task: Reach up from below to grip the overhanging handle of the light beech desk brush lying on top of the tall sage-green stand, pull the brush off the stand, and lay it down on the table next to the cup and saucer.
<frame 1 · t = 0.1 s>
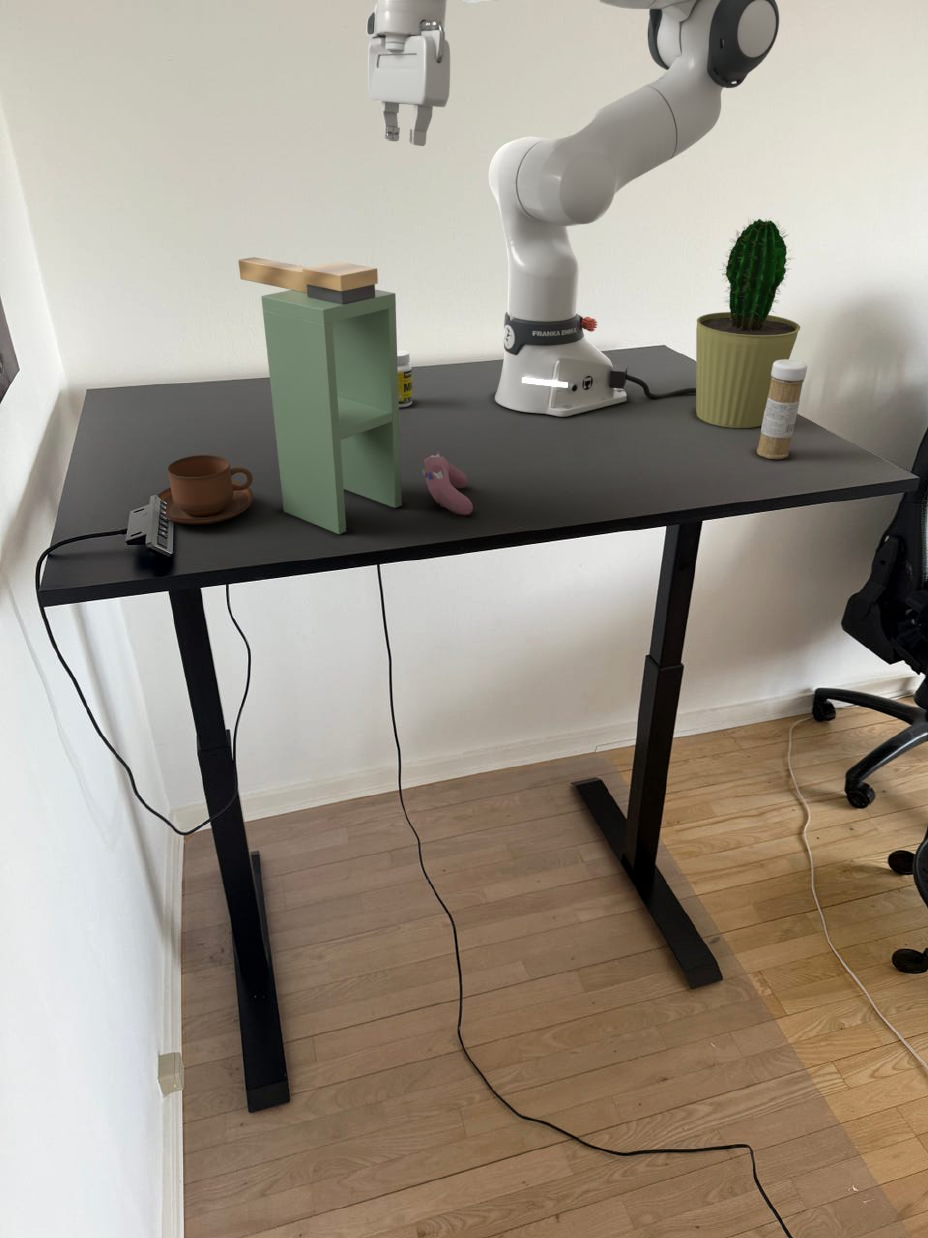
hand: (403, 142, 121), 39 cm above the table, tool pointing down, fingers open, 8 cm apart
cup and saucer: (206, 513, 111), on the table
potted cactus: (731, 417, 144), on the table
supplement bottle: (398, 404, 148), on the table
desk brush: (301, 288, 101), point 26 cm above the table, touching sage stand
sage stand: (343, 508, 113), on the table
video game controller: (447, 503, 115), on the table
sprinkles bottle: (771, 456, 130), on the table
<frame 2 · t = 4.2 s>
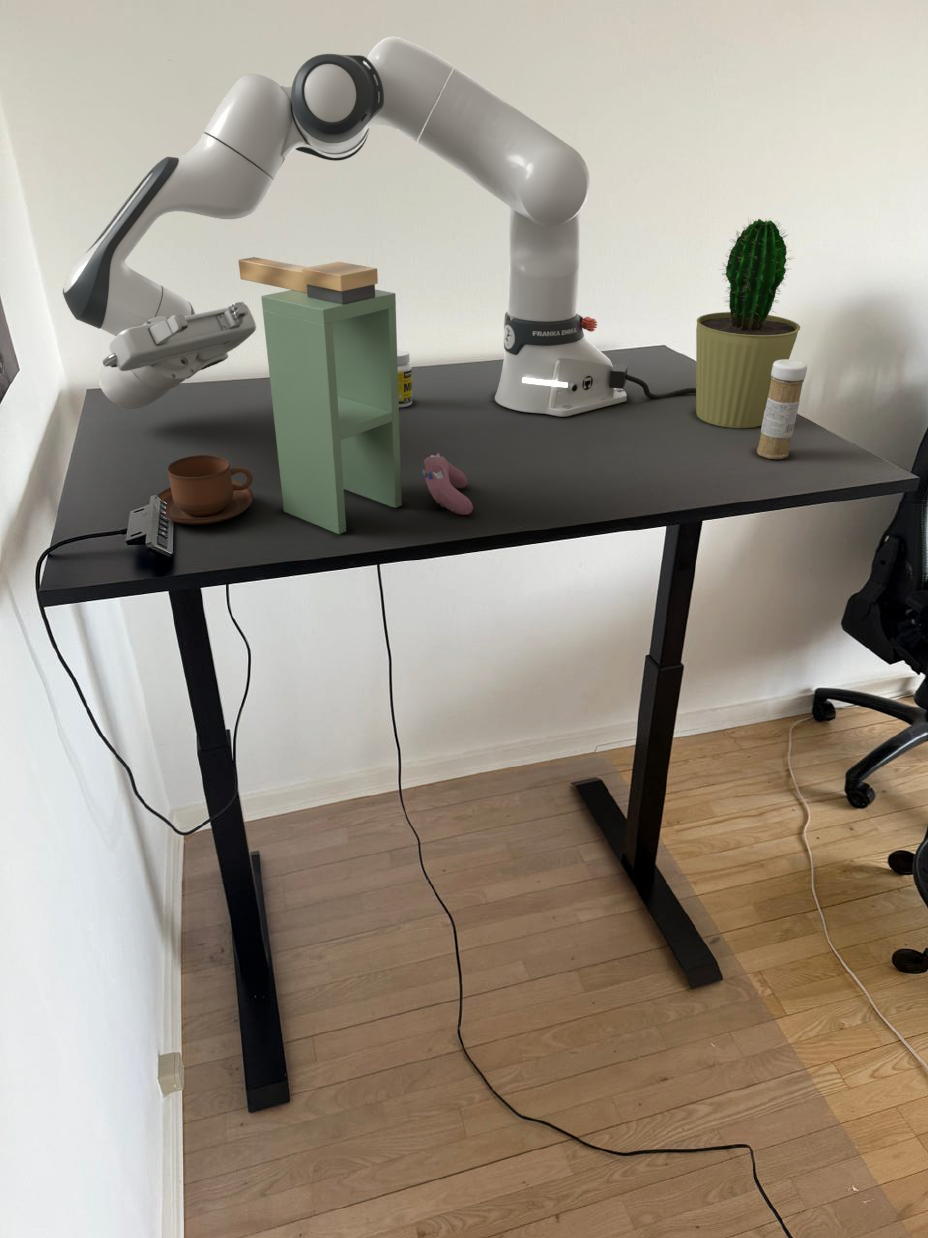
hand: (212, 313, 114), 21 cm above the table, tool pointing upward, fingers open, 8 cm apart
nothing on the table moved.
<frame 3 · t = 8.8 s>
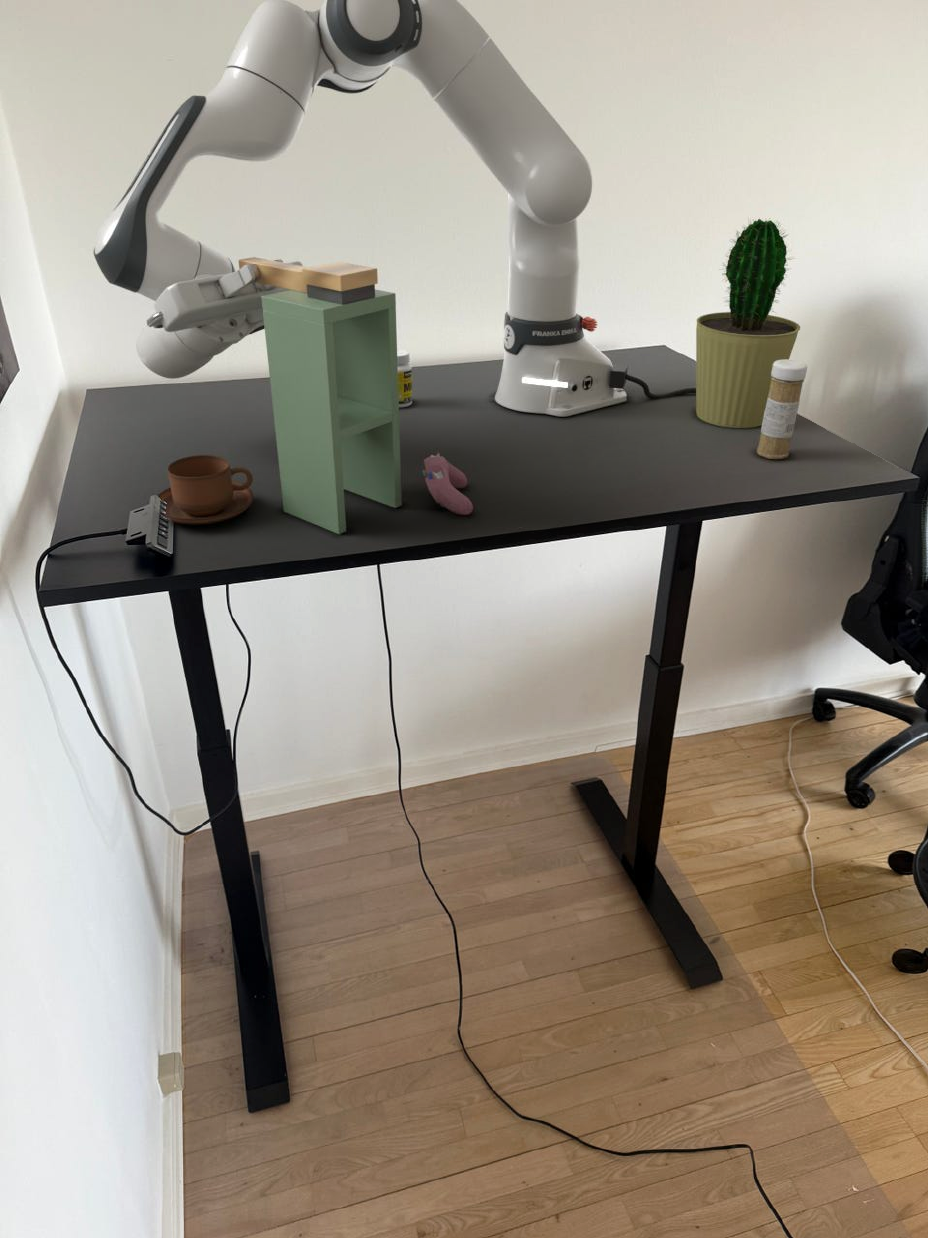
hand: (267, 267, 104), 28 cm above the table, tool pointing upward, fingers closed on desk brush, 2 cm apart
desk brush: (301, 288, 101), point 26 cm above the table, touching gripper, sage stand
everything else where it was.
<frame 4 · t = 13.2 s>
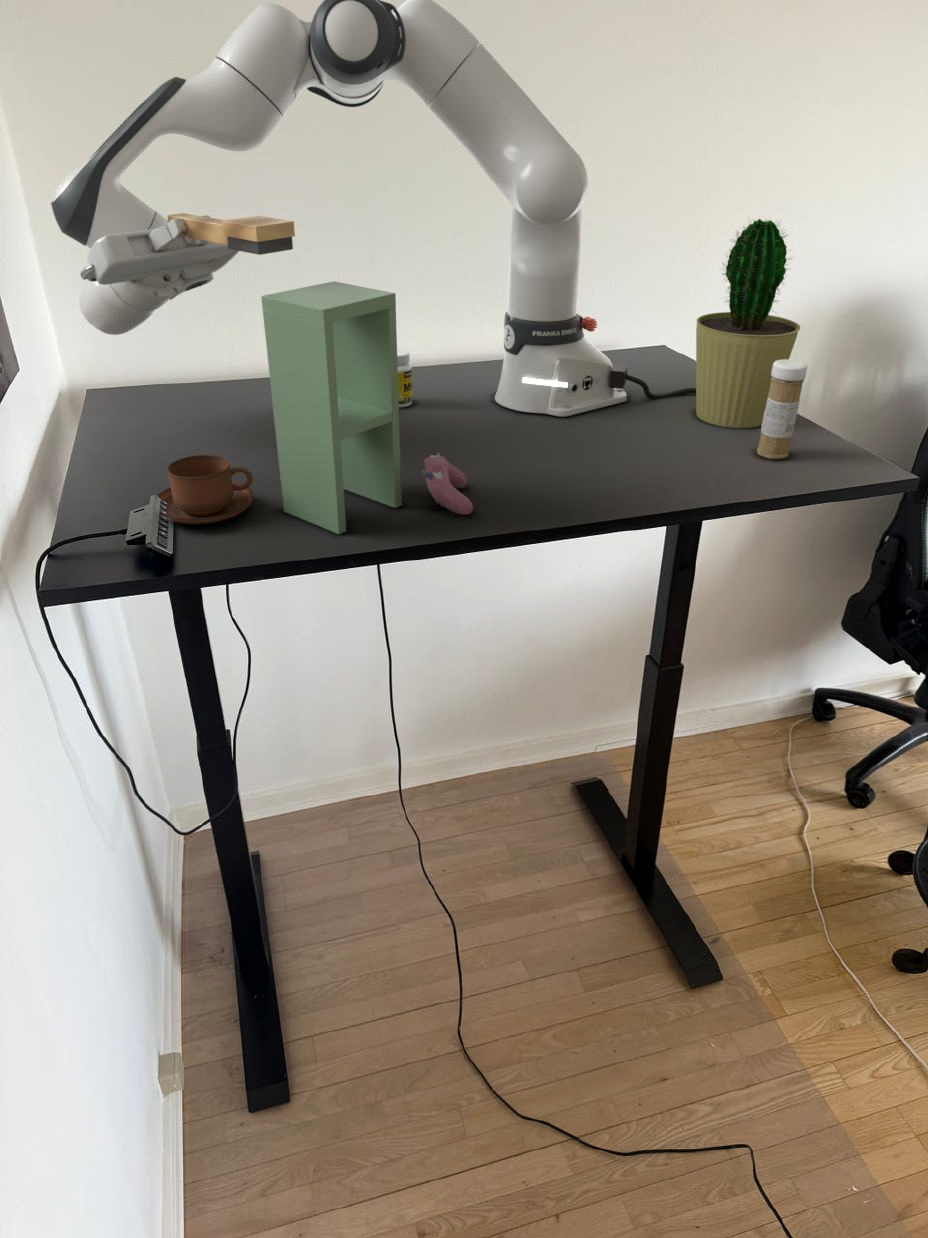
hand: (194, 222, 109), 31 cm above the table, tool pointing upward, fingers closed on desk brush, 2 cm apart
desk brush: (225, 242, 106), point 30 cm above the table, touching gripper
everything else where it was.
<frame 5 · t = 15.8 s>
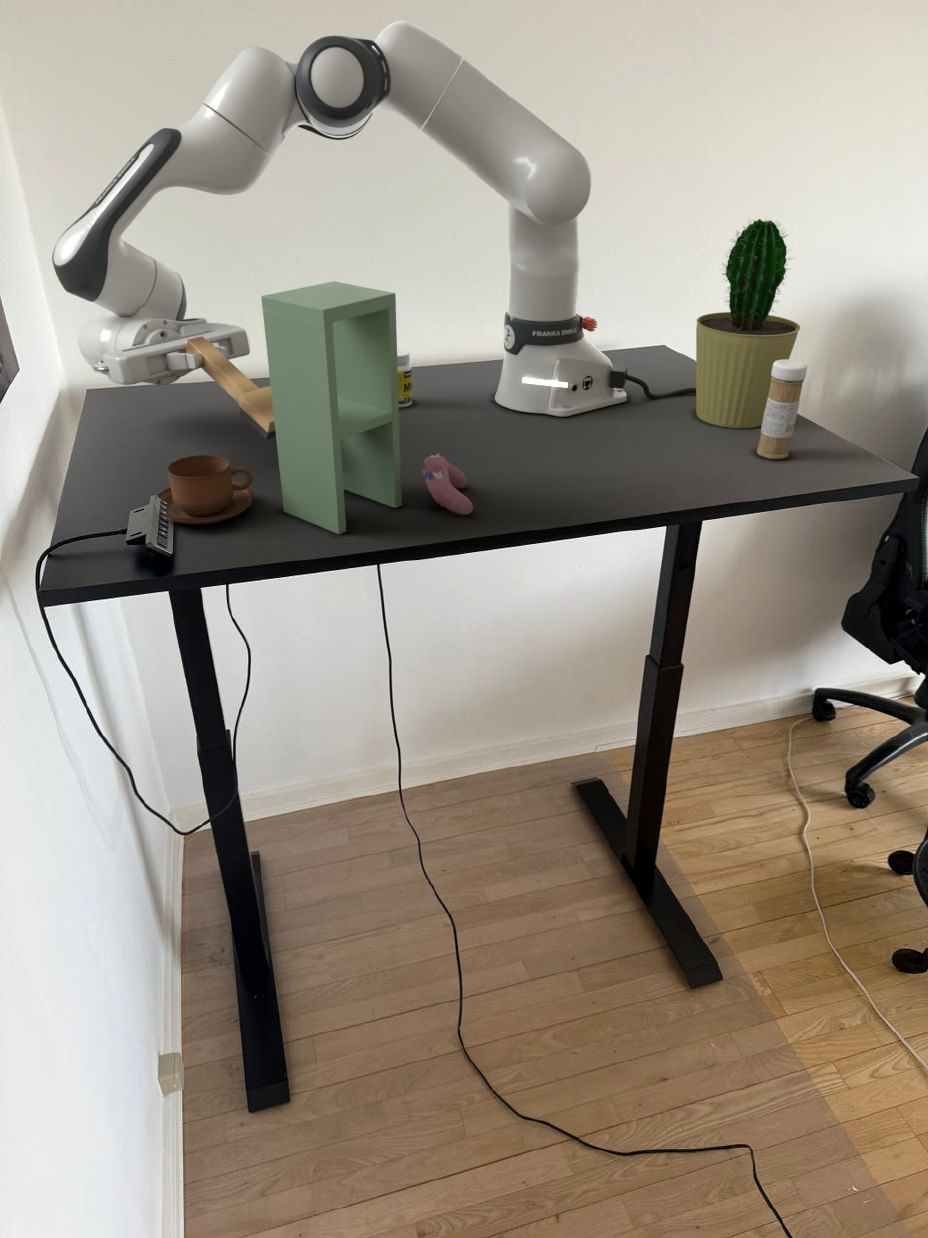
hand: (211, 357, 117), 15 cm above the table, tool horizontal, fingers closed on desk brush, 2 cm apart
desk brush: (237, 392, 116), point 11 cm above the table, tilted 23°, touching gripper
everything else where it was.
when the fingers open (9 cm above the table, at t = 17.7 s): desk brush drops 5 cm, on the table.
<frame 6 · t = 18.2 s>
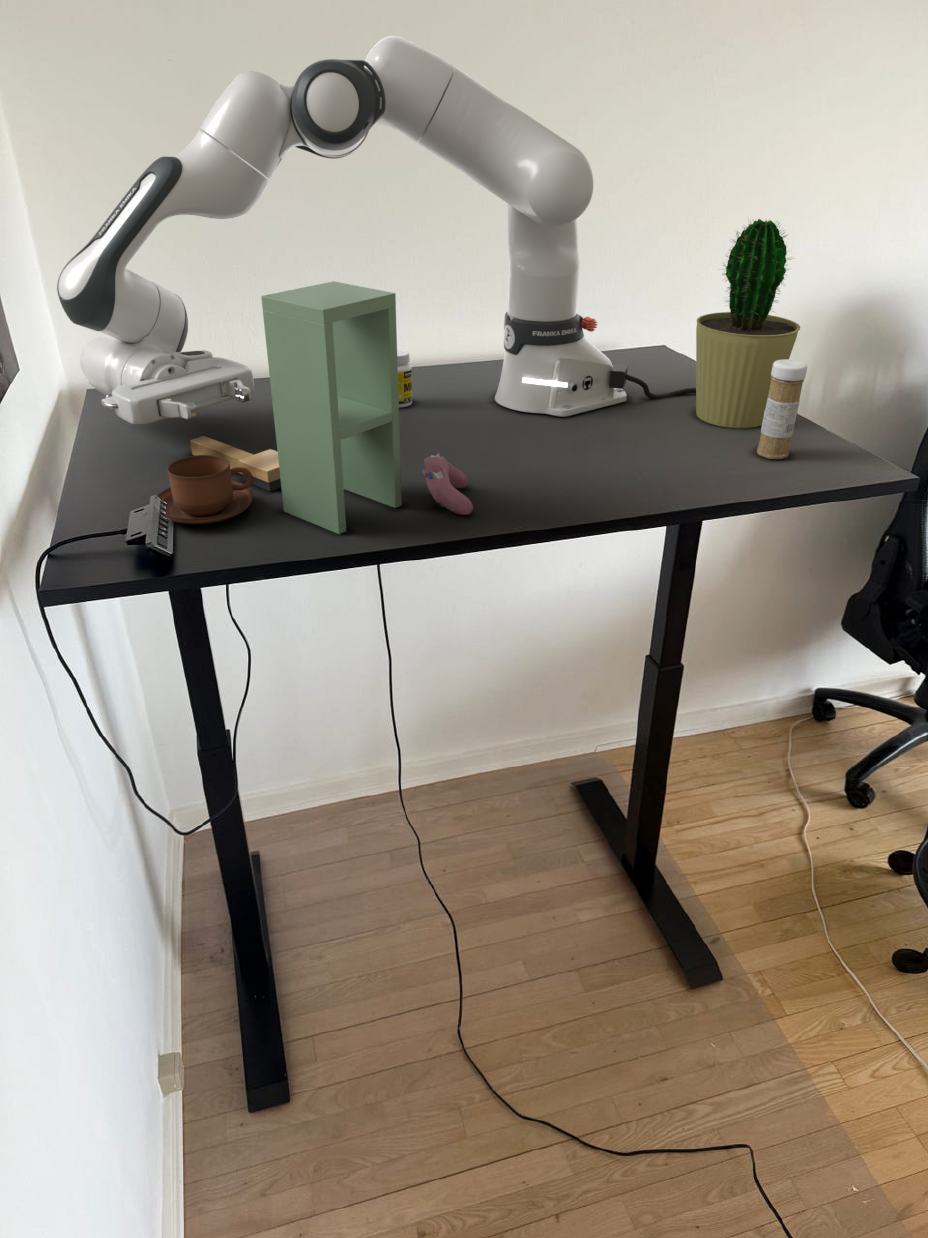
hand: (220, 403, 120), 9 cm above the table, tool horizontal, fingers open, 8 cm apart
desk brush: (240, 468, 123), on the table
everything else where it was.
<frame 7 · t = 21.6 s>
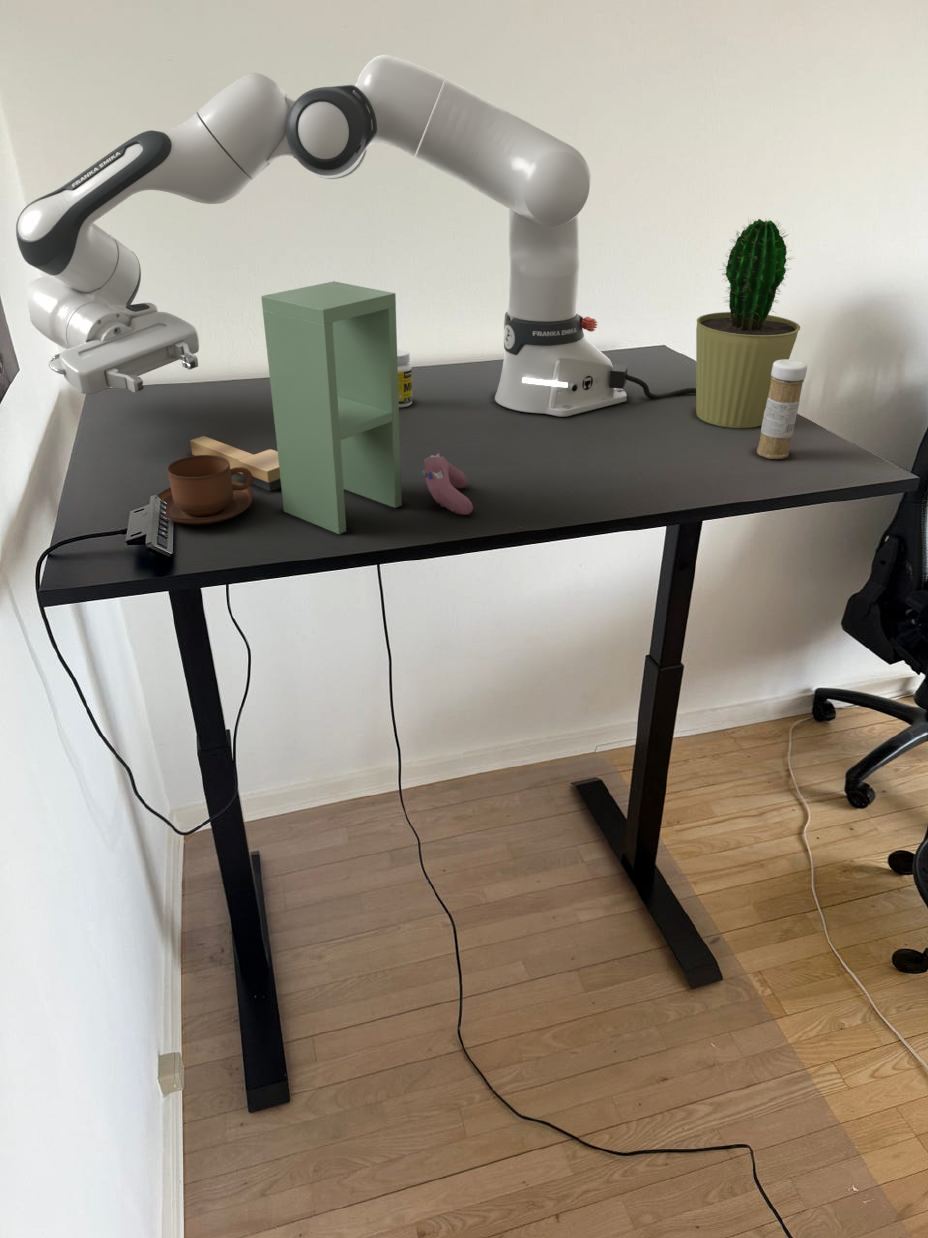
hand: (167, 374, 125), 11 cm above the table, tool horizontal, fingers open, 8 cm apart
nothing on the table moved.
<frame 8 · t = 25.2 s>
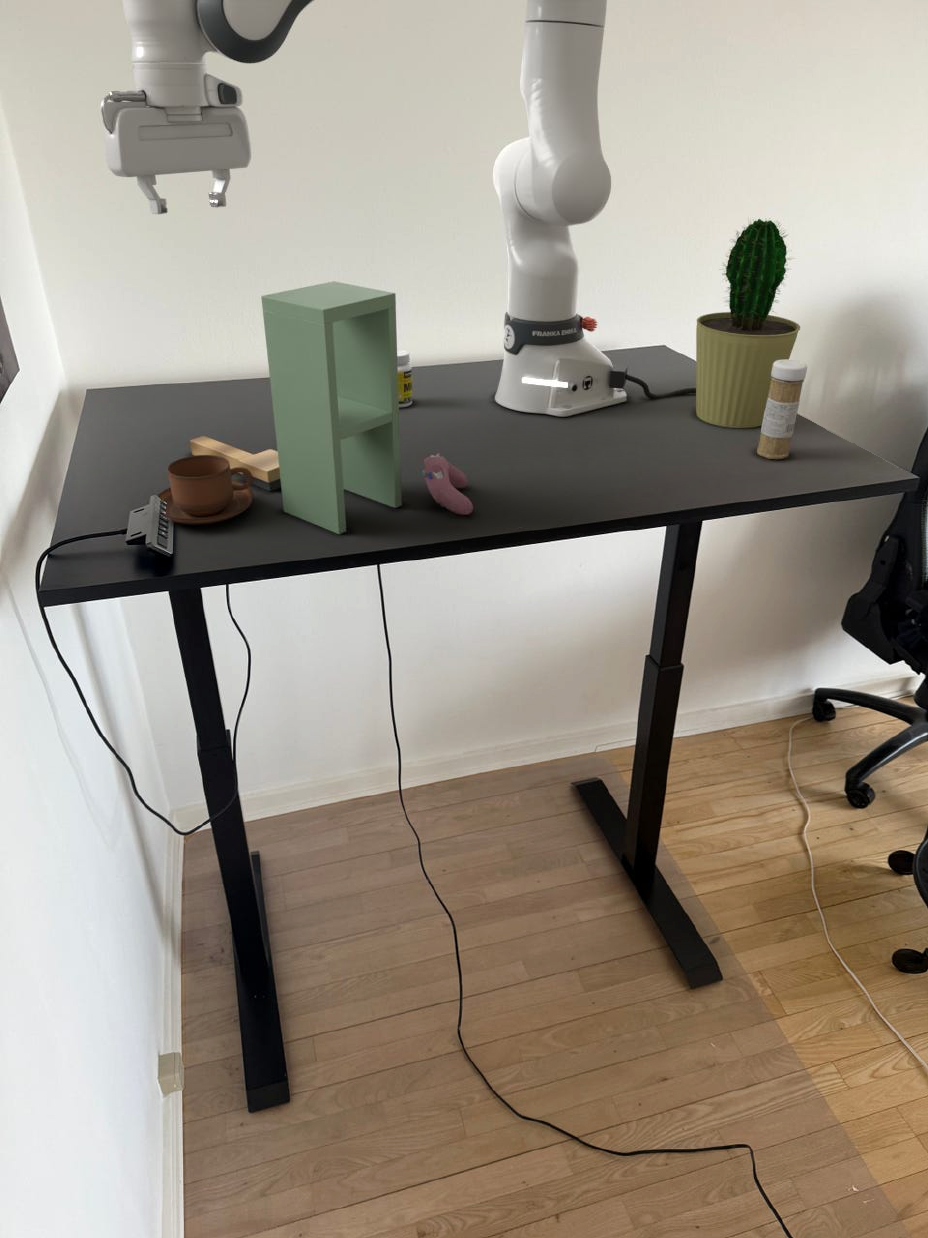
hand: (189, 210, 119), 31 cm above the table, tool pointing down, fingers open, 8 cm apart
nothing on the table moved.
at the end: desk brush on the table; desk brush 14.4 cm from the cup and saucer (horizontally); the gripper is holding nothing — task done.
